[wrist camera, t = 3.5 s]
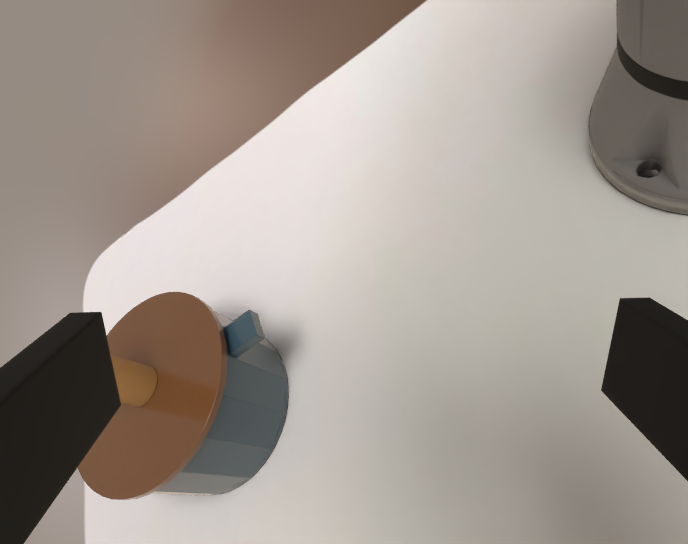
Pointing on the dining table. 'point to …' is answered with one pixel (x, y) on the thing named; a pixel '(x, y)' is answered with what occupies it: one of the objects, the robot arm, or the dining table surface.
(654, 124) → the robot arm
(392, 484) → the dining table surface
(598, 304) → the dining table surface
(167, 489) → the pot
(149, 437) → the lid
